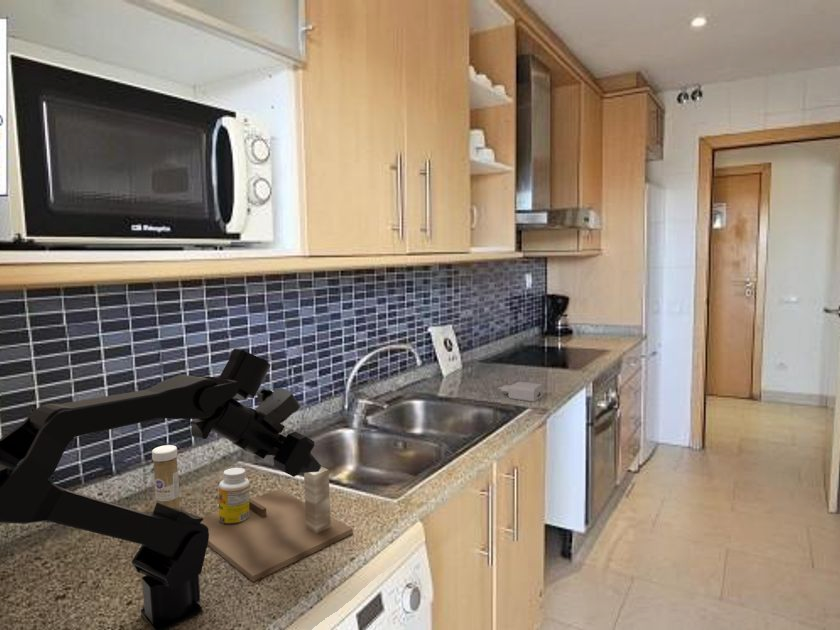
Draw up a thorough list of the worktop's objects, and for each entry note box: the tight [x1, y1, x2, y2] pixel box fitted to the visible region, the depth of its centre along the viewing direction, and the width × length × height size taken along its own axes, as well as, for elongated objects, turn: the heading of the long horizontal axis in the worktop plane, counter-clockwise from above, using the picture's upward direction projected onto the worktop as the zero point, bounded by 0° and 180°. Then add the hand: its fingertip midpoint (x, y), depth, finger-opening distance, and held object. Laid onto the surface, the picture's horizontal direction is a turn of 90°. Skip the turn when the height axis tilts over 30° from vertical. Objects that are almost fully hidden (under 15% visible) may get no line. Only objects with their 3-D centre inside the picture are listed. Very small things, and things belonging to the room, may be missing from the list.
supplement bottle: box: [218, 467, 251, 525], centre depth 104 cm, size 6×6×10 cm
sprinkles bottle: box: [151, 444, 182, 510], centre depth 108 cm, size 5×5×14 cm
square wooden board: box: [200, 466, 354, 583], centre depth 101 cm, size 20×25×12 cm
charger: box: [497, 381, 544, 403], centre depth 192 cm, size 5×9×15 cm
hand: (304, 461), depth 96 cm, fingers open, 9 cm apart
